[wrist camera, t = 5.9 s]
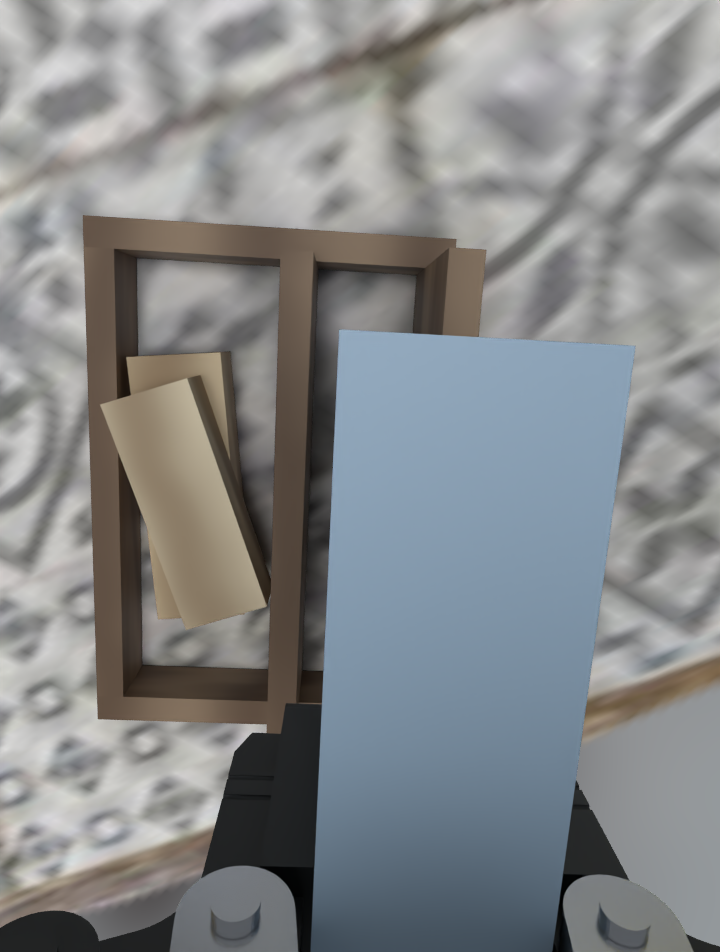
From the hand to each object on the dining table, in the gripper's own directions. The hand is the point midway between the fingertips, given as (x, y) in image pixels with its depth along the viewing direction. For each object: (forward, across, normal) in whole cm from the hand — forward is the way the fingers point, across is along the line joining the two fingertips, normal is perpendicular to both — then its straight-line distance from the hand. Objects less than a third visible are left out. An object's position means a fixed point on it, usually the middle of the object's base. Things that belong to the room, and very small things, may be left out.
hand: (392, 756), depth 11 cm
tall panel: (+12, 0, 0) cm, 12 cm away
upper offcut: (+18, +7, 0) cm, 20 cm away
